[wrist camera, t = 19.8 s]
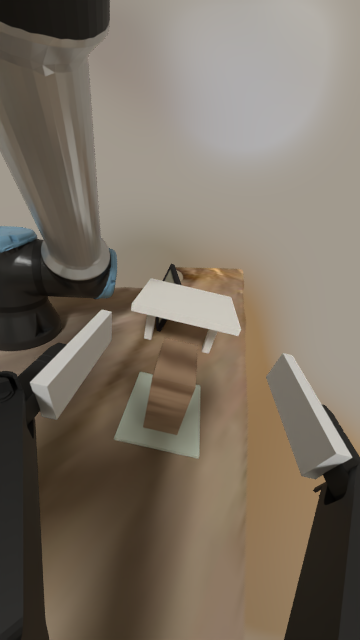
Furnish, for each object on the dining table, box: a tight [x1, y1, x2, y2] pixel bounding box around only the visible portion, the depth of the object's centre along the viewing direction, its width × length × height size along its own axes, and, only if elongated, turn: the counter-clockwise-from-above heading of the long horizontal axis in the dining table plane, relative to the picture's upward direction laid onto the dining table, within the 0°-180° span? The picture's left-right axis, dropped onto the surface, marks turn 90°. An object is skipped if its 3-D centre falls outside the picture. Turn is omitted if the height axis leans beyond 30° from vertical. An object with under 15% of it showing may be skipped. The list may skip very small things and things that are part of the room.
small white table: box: [131, 278, 241, 353], centre depth 43 cm, size 14×20×18 cm
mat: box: [114, 372, 200, 459], centre depth 36 cm, size 14×14×1 cm
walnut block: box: [143, 337, 198, 435], centre depth 32 cm, size 9×6×13 cm, turn 174°
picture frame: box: [156, 264, 181, 332], centre depth 63 cm, size 23×9×15 cm, turn 8°
